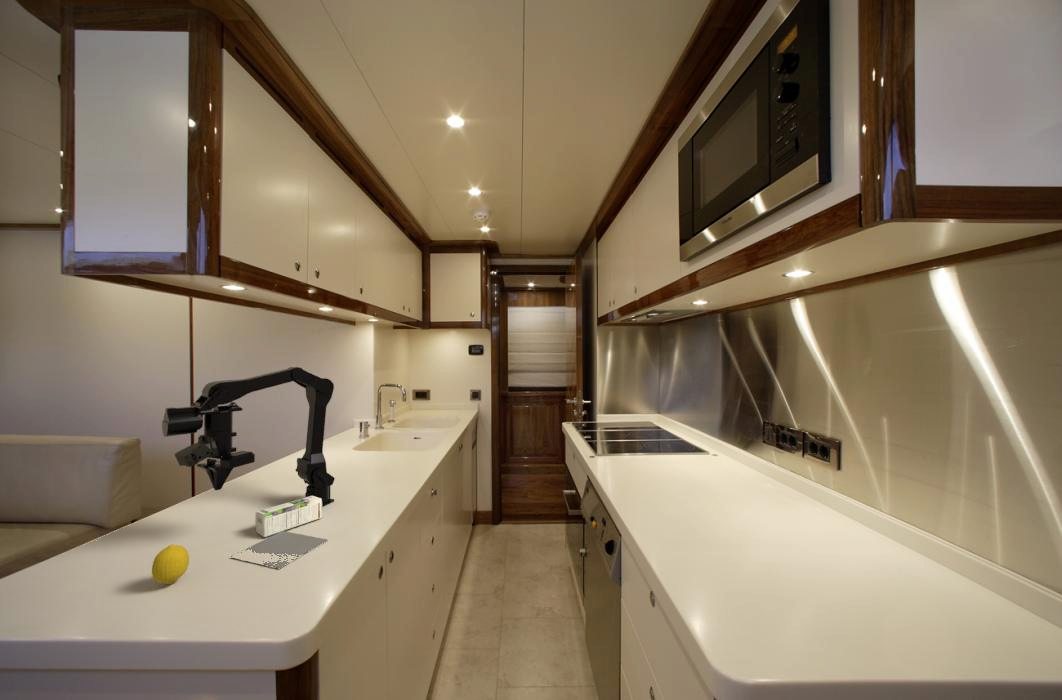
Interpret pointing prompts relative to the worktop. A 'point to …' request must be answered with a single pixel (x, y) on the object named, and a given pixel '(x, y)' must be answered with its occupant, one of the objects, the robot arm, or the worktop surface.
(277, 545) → the mat
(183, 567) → the lemon
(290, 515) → the syrup box
